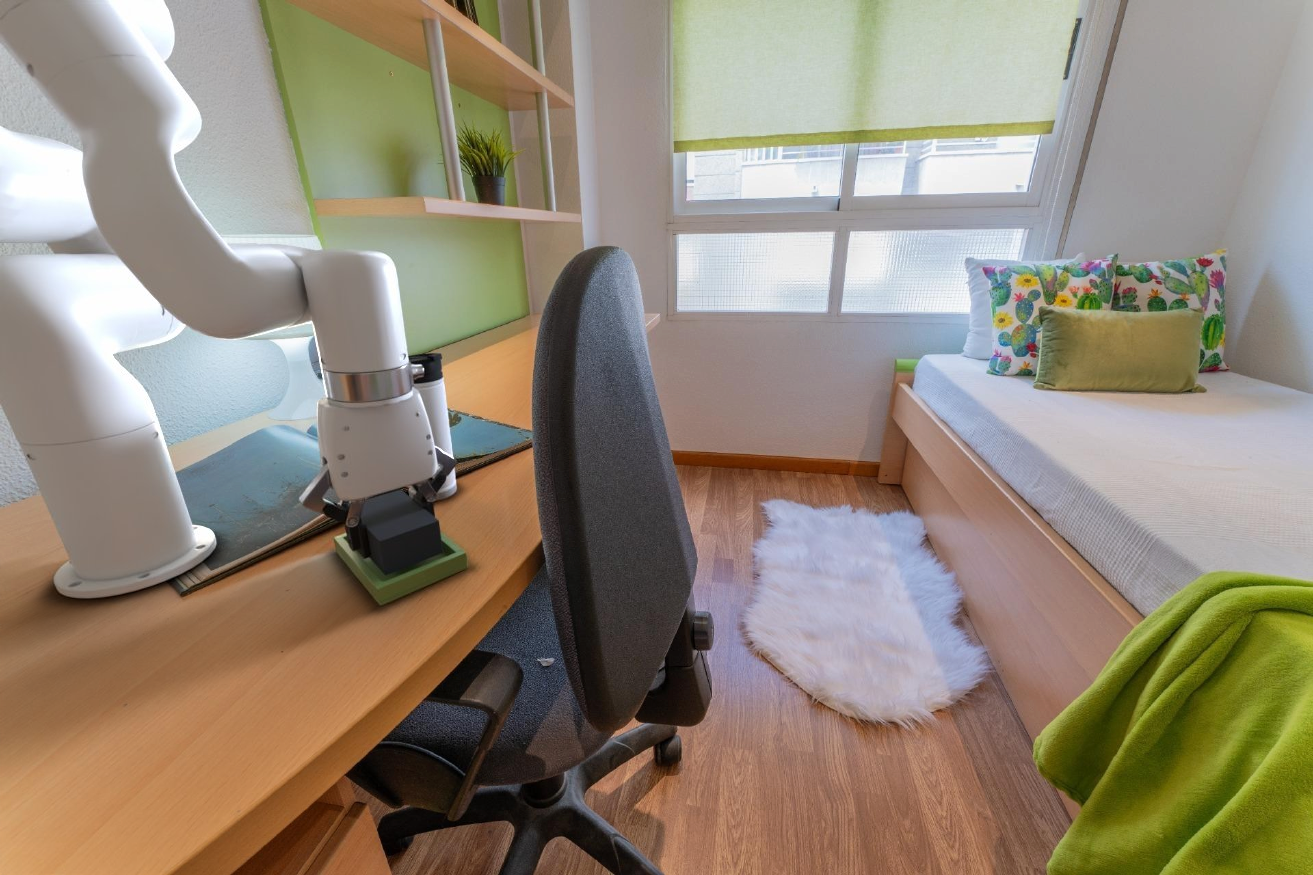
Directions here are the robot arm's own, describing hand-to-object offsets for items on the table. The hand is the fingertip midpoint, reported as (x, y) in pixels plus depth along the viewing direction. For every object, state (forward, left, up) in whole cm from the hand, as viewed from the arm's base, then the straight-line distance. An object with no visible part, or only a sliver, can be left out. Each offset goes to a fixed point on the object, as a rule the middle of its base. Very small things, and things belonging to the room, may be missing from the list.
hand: (395, 539), depth 57 cm
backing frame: (0, 0, -3) cm, 3 cm away
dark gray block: (0, 0, -1) cm, 1 cm away
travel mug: (-13, +10, -3) cm, 17 cm away
